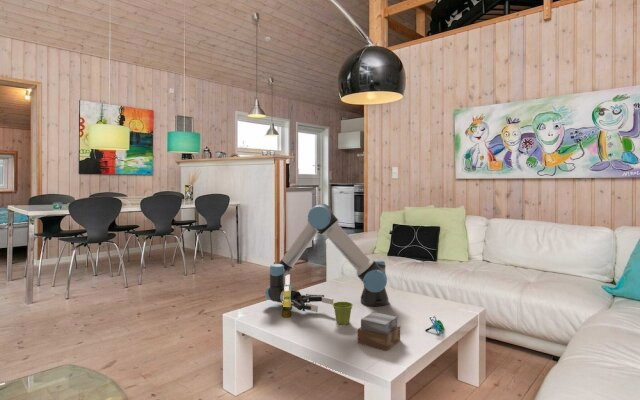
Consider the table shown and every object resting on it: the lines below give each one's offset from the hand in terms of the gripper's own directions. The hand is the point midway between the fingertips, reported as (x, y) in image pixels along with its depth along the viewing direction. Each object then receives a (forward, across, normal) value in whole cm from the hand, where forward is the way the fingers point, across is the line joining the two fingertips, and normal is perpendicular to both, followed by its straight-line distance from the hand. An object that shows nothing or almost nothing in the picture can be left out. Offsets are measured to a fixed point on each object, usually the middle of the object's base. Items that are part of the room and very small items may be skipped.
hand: (325, 305), depth 192 cm
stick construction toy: (+49, -15, -6) cm, 51 cm away
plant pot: (+10, 0, -7) cm, 12 cm away
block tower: (+34, +10, -6) cm, 36 cm away
